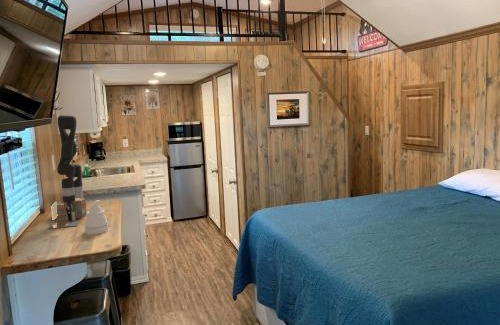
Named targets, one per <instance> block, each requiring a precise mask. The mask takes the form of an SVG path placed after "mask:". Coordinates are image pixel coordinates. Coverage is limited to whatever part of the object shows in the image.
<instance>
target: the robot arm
mask: <svg viewBox="0 0 500 325" xmlns="http://www.w3.org/2000/svg"><path fill="white" fill-rule="evenodd" d="M57 127H58V131H59V135H60V141H61V142H60V143H61V147H60V159H59V163H58V165H57V170H56V171H57V173H58V175H59V176H65V177H64V178H62V179H61V195H62V196H61V197H62V203H64V202H66V203H67V204H66V211H67V215H68V221H71V222H73V221H72V212H73V202H74V201H75V199H76V198H81V199H84V190H83V188H84V187H83V177H82V176H83V175H82V166H81V164H78V163H77V164H72V160H73V159H74V158H75V156H76V154H77V152H78V147H77V143H76V141H75V137H76V130H77V117H76V116H74V115H63V114H62V115H59V116H58V117H57ZM67 130H68V131H69V133H68V132H67ZM74 178H76V179H74ZM68 212H70V213H68Z"/></svg>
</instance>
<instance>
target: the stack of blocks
mask: <svg viewBox="0 0 500 325" xmlns="http://www.w3.org/2000/svg"><path fill="white" fill-rule="evenodd" d="M56 203H57V214H58V216H66V215H65V214H66V213H67V211H66V204H67V203H66V202H56ZM51 206H52V204H51V205H50V207H51ZM73 212H75V219H83V218H85V217H87V204H86V198H83V199H81V198H76V199H75V201H74V202H73Z"/></svg>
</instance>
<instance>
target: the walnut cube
mask: <svg viewBox="0 0 500 325" xmlns="http://www.w3.org/2000/svg"><path fill="white" fill-rule="evenodd" d="M55 220H56V223H57V226H63V225H66V224H67V219H66V216H57V218H55Z"/></svg>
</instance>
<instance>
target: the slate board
mask: <svg viewBox="0 0 500 325" xmlns="http://www.w3.org/2000/svg"><path fill="white" fill-rule="evenodd" d="M52 224H53V223H51V224H50V226H48V230H53V229H52V228H53V226H52ZM78 224H79V221H78V220H75V221H71V222H67V224H66V225H63V226H57V227H58V228H57V229H62V228H71V227H74V228H75V227H78Z"/></svg>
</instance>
